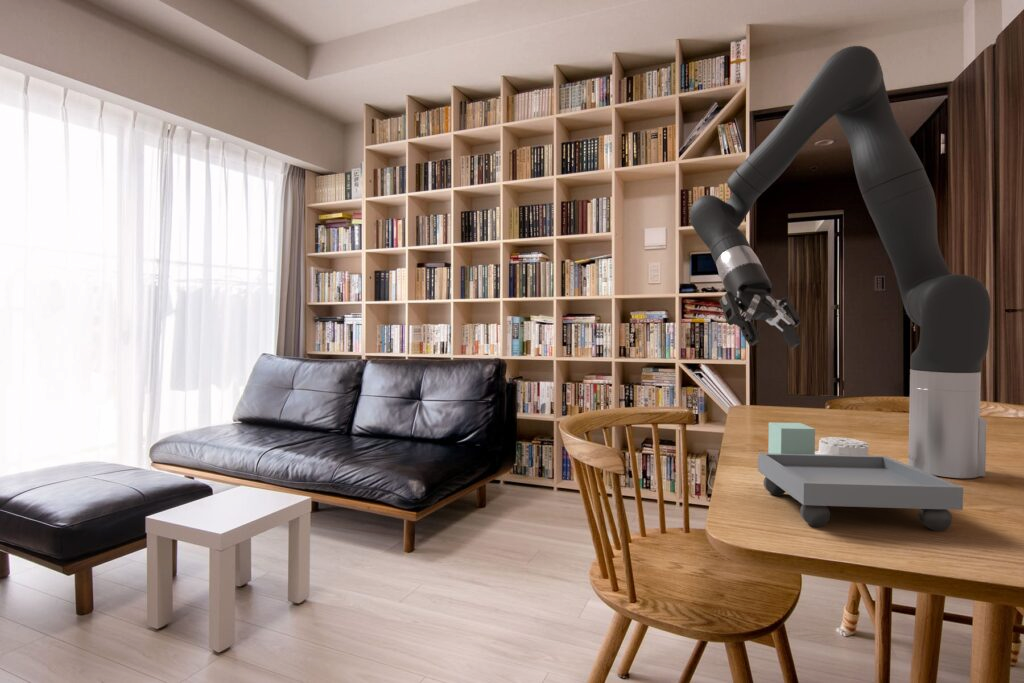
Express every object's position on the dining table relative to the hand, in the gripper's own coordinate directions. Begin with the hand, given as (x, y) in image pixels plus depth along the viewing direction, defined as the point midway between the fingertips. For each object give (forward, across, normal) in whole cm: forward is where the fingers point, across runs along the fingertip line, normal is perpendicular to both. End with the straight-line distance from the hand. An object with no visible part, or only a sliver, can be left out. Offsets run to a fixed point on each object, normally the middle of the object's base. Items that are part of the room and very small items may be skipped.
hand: (775, 344), depth 90 cm
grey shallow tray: (+30, -5, -3) cm, 30 cm away
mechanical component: (+18, +16, +12) cm, 26 cm away
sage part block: (+22, -2, +7) cm, 23 cm away
